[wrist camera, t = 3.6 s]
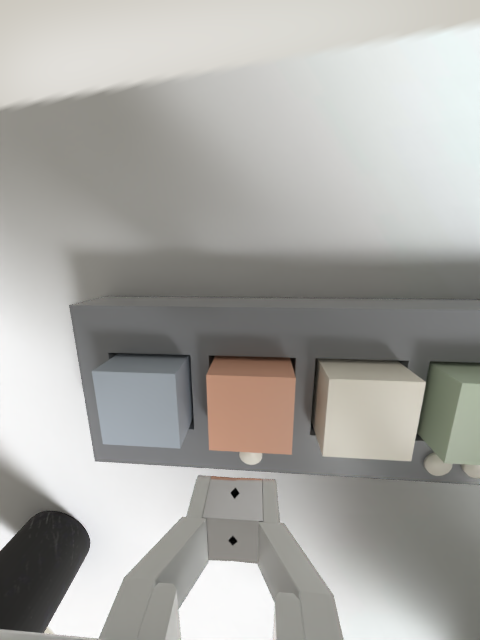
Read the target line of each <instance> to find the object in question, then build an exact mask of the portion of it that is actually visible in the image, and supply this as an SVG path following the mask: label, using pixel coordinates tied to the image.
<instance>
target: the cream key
mask: <svg viewBox="0 0 480 640" xmlns="http://www.w3.org/2000/svg"><path fill="white" fill-rule="evenodd" d="M425 386H426V382H425V381H424V380H423V379H421V378H420V377H419V376H417V375H416V374H414V373H413V372H412V371H410V370H409V369H408V368H406V367H405V366H404V365H402V364H401V363H400V362H398V361H397V360H363V359H325V358H316V359H315V373H314V387H313V400H312V414H311V421H312V425H313V428H314V431H315V434H316V437H317V440H318V444H319V447H320V450H321V453H322V456H323V457H341V458H359V459H377V460H395V461H411V460H412V455H413V450H414V444H415V439H416V434H417V428H418V423H419V418H420V412H421V407H422V402H423V396H424V391H425Z"/></svg>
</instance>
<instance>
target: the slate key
mask: <svg viewBox="0 0 480 640" xmlns="http://www.w3.org/2000/svg"><path fill="white" fill-rule="evenodd" d="M92 376H93V383H94V389H95V396H96V402H97V409H98V415H99V422H100V428H101V435H102V441H103V444H108V445H126V446H144V447H161V448H179V449H180V448H181V446H182V443H183V441H184V439H185V436H186V434H187V431H188V429H189V427H190V424H191V422H192V420H193V417H194V414H193V395H192V376H191V357H190V355H174V354H137V353H118V354H117V355H115V356H114V357H112V358H111V359H109V360H108V361H106V362H105V363H103V364H102V365H100V366H99V367H97V368H96V369H94V370H93V371H92Z"/></svg>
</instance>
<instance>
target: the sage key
mask: <svg viewBox="0 0 480 640" xmlns="http://www.w3.org/2000/svg"><path fill="white" fill-rule="evenodd" d="M417 433H418V435H419V436H420V437H421V438H422V439H423V440H424V441H425V442H426V443H427V445H428V446H429V447H430V448H431V449H432V450H433V451H434V452H435V453H436V455H437V456H438V457H439V458H440V459H441V460H442V461H443V462H444V463H448V464H466V465H480V363H476V362H438V361H430V363H429V368H428V374H427V379H426V386H425V391H424V396H423V402H422V407H421V412H420V418H419V423H418V428H417Z"/></svg>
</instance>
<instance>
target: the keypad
mask: <svg viewBox="0 0 480 640" xmlns="http://www.w3.org/2000/svg"><path fill="white" fill-rule="evenodd" d="M69 306H70V312H71V318H72V324H73V331H74V337H75V343H76V349H77V355H78V361H79V367H80V373H81V379H82V385H83V391H84V397H85V403H86V409H87V415H88V421H89V427H90V433H91V439H92V445H93V451H94V457H95V461H99V462H116V463H132V464H148V465H165V466H181V467H197V468H214V469H230V470H246V471H262V472H279V473H295V474H311V475H328V476H344V477H360V478H377V479H393V480H409V481H425V482H442V483H458V484H474V485H480V465H466V464H448V463H444V462H443V461H442V460H441V459H440V458H439V457H438V456H437V455H436V453H435V452H434V451H433V450H432V449H431V448H430V447H429V446H428V445H427V443H426V442H425V441H424V440H423V439H422V438H421V437H420V436H419V435H418V433H417V434H416V439H415V444H414V450H413V455H412V460H411V461H395V460H377V459H359V458H341V457H323V456H322V453H321V450H320V447H319V444H318V440H317V437H316V434H315V431H314V428H313V425H312V421H311V414H312V400H313V387H314V373H315V359H316V358H325V359H363V360H397V361H398V362H400V363H401V364H402V365H404V366H405V367H406V368H408V369H409V370H410V371H412V372H413V373H414V374H416V375H417V376H419V377H420V378H421V379H423V380H424V381H425V382H426V379H427V374H428V368H429V363H430V361H438V362H476V363H480V300H476V299H359V298H243V297H127V296H105V297H101V298H97V299H93V300H89V301H85V302H81V303H76V304H72V305H69ZM118 353H137V354H174V355H190V357H191V376H192V395H193V414H194V417H193V420H192V422H191V424H190V427H189V429H188V431H187V434H186V436H185V439H184V441H183V443H182V446H181V448H180V449H179V448H161V447H144V446H126V445H108V444H103V441H102V435H101V428H100V422H99V415H98V409H97V402H96V396H95V389H94V383H93V376H92V371H93V370H94V369H96V368H97V367H99V366H100V365H102V364H103V363H105V362H106V361H108V360H109V359H111V358H112V357H114V356H115V355H117V354H118ZM215 356H250V357H287V358H290V360H291V363H292V367H293V370H294V373H295V377H296V385H295V404H294V422H293V441H292V455H287V454H269V453H251V452H233V451H215V450H209V435H208V409H207V382H206V374H207V372H208V370H209V368H210V366H211V364H212V362H213V359H214V357H215Z"/></svg>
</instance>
